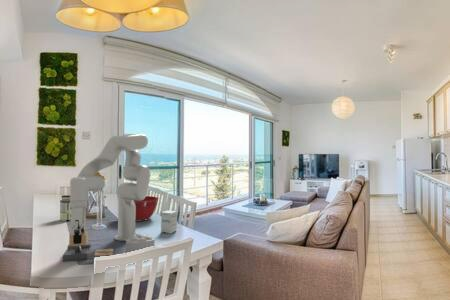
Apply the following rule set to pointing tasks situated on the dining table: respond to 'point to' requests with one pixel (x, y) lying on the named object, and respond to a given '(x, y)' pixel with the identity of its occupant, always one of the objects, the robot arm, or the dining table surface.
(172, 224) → the supplement box
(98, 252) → the cork pad
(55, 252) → the dining table surface
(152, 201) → the mixing bowl
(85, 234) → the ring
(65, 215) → the coffee can
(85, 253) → the vise block
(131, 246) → the lumpy-topped squat cylinder
